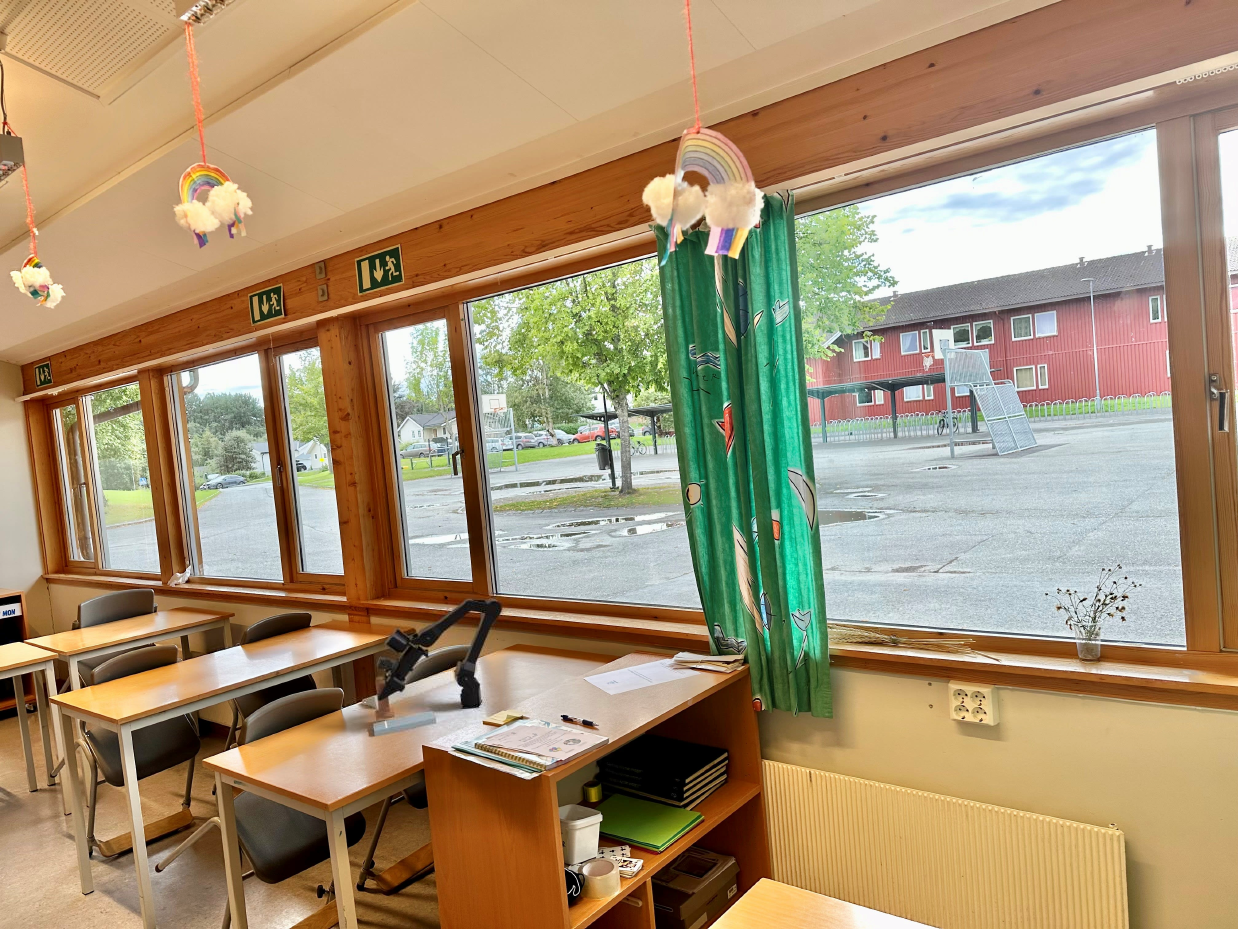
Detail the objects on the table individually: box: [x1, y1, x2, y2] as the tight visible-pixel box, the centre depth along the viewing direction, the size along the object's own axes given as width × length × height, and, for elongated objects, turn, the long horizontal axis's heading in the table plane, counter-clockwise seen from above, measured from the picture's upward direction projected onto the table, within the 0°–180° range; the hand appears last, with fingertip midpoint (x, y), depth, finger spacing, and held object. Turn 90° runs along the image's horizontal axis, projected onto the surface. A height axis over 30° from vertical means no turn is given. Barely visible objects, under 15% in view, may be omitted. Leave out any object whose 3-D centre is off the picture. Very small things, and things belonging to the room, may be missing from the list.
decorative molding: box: [362, 670, 456, 709], centre depth 298 cm, size 34×5×10 cm
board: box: [372, 710, 437, 737], centre depth 260 cm, size 20×8×2 cm, turn 110°
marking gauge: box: [374, 675, 395, 722], centre depth 265 cm, size 6×5×14 cm
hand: (378, 698), depth 264 cm, fingers closed on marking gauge, 3 cm apart
